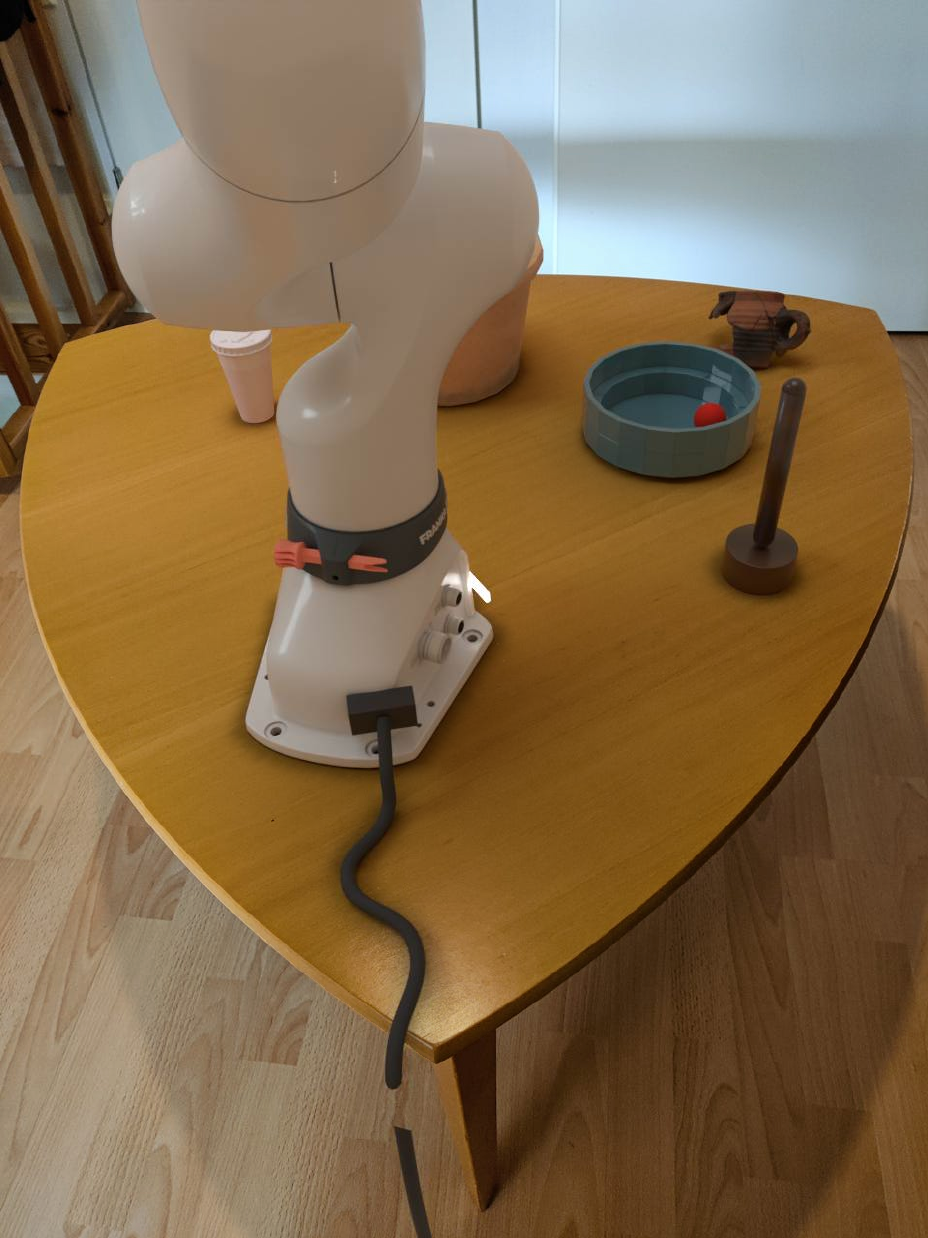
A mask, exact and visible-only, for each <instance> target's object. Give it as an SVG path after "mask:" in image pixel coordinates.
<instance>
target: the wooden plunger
mask: <svg viewBox="0 0 928 1238" xmlns="http://www.w3.org/2000/svg"><path fill="white" fill-rule="evenodd" d="M807 392H808V387H807V383H806V381H804V379H803V378H801V377H797V376H794V377H790V378H788V379H787V380H785V381H784V382H783V384H782V386H781V391H780V396H779V401H778V406H777V411H776V415H775V419H774V420H775V421H774V424H773V431H772V436H771V441H770V446H769V451H768V456H767V461H766V466H765V472H764V476H763V482H762V487H761V490H760V491H761V492H760V497H759V501H758V506H757V507H758V508H757V511H756V512H757V513H756V517H755V521H754V522H755V523H748V524H742V525H739V526H737V527H736V528H734V529H732V530H731V531H730V532H729V533H728V534H727V536H726V539H725V542H724V549H723V555H722V560H721V567H720V569H721V574H722V576H723V578H724V580H725V581H726V582H727V583H728V584H729V585H731V586H732V587H733V588H734V589H737V590H738V591H741V592H743V593H747V594H752V595H758V596H759V595H760V596H761V595H765V596H766V595H772V594H777V593H779V592H781V591H783V590H785V589H786V588H787V587H788V586H789V585H790V584H791V582H792V579H793V575H794V571H795V567H796V564H797V559H798V554H799V546H798V543H797V541H796V539H795V538H794V537H793V536H792V535H791V534H790V533H789V532H788V531H786V530H783V528H780V527H778V524H779V521H780V516H781V511H782V507H783V501H784V497H785V492H786V487H787V484H788V479H789V474H790V470H791V465H792V460H793V456H794V451H795V446H796V442H797V438H798V432H799V428H800V424H801V419H802V414H803V410H804V406H805V401H806V397H807V396H806V395H807Z"/></svg>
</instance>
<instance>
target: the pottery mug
mask: <svg viewBox="0 0 928 1238" xmlns="http://www.w3.org/2000/svg"><path fill="white" fill-rule="evenodd" d="M785 298H786V295H785V294H784V293H783V292H780V291H772V290H727V291H721V292H719V293H718V302H717V303H716V304H715V306H714V307H713V308H712V310H711V311H710V314H709V316H708V320H712V319H718V318H719V317H721V316H722V317H723V316H726V322H727V323H728V325H730V326H731V329H732V338H733V342H731V343H723V344H722V343H720V344H718V345H717V349H718V350H720V351H723V352H725V353H727V354H729V355H732V356H734V357H736V358H738V359H740V360H741V361H742V362H743V363H745V364H746V365H747V366H748V367H750V368H759V369H761V368H763V369H764V368H765V369H767V368H769V366H770V362H771V359H772V357H773V354H774V352H775V355H776V357H778V358H782V357H783V356H784V355H785V354H786V353H787V352H788V351H793V350H795V349H798V348H799V347H800V346H801V345H803V344H804V343H805V342H806V340H807V339H808V337H809V335H810V334H811V332H812V329H811V319H810V317H809V316H808V314H807V313H805V312H804V311H801V310H798V309H788V308H787V306H786V305H785ZM795 324H796V330H795V332H794V333H793V335H791V336H790V333H791V330H792V327H793V325H795Z"/></svg>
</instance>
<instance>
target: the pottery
mask: <svg viewBox="0 0 928 1238" xmlns="http://www.w3.org/2000/svg"><path fill="white" fill-rule="evenodd" d="M544 253H545V252H544V247H543V245H542V241H541V238H540V235H539V234H538V237H537V242H536V246H535V249H534V253H533V255H532V258H531V260H530V263H529V265H528V267H527V269H526V271H525V272H524V274H523V276H522V277H521V279H520V280H519V281H518V283H517V284H516V286H515V287H514V288H513V289H512V290H511V291H510V292H509V293H508V294H507V295H505V296H504V297H502V298H501V299H500V300H499V301H497V302H496V303H495V304H494V305H492V306H491V307H490V308H489V309H488V310H487V311H486V312H485V313H484V314H483V315H482V316H481V317H480V318H479V319H478V320H477V321H476V322H475V323H474V324H473V326H472V327H471V328H470V329H469V330H468V332H467V333H466V334H465V336H464V337H463V339H462V340H461V342H460V343H459V344H458V346H457V348H456V350H455V351H454V353H453V355H452V356H451V358H450V361H449V363H448V365H447V367H446V370H445V372H444V375H443V378H442V380H441V384H440V388H439V393H438V401H437V407H455V406H461V405H467V404H473V403H477V402H480V401H482V400H485V399H487V398H490V397H492V396H494V395H497V394H498V393H500V392H501V391H502V390H503V389H505V388H506V387H507V386H508V385H510V384H512V382H514V380H515V377H516V376H517V373H518V371H519V369H520V360H521V359H520V358H521V353H522V346H523V339H524V332H525V324H526V318H527V310H528V304H529V297H530V292H531V283H532V281H533V280H534V279H535V278H536V276H537V275H538V272H539V270H540V268H541V267H542V264H543V262H544Z"/></svg>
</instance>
